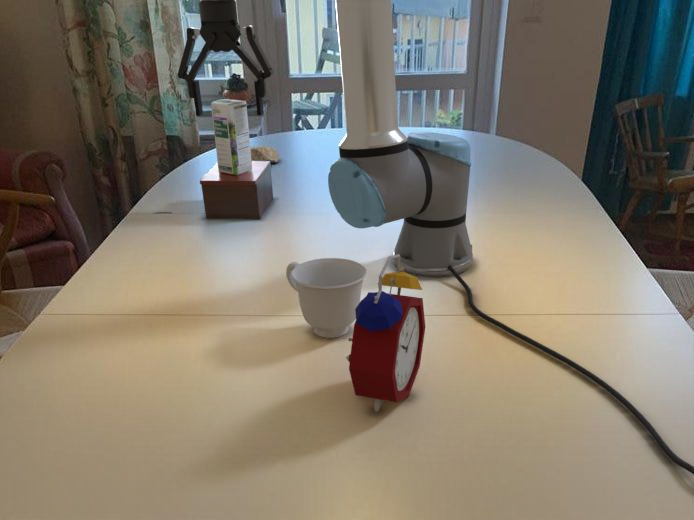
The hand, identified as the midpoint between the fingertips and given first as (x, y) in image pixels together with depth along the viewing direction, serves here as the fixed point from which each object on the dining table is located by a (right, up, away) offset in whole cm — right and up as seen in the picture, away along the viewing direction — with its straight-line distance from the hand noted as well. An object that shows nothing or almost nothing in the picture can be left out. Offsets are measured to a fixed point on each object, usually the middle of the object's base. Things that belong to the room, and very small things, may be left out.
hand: (229, 114), depth 160 cm
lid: (0, -10, +8) cm, 13 cm away
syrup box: (0, -9, +7) cm, 12 cm away
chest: (0, -15, +13) cm, 20 cm away
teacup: (+22, -55, -38) cm, 70 cm away
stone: (+1, +9, +46) cm, 47 cm away
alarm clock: (+30, -67, -55) cm, 92 cm away
